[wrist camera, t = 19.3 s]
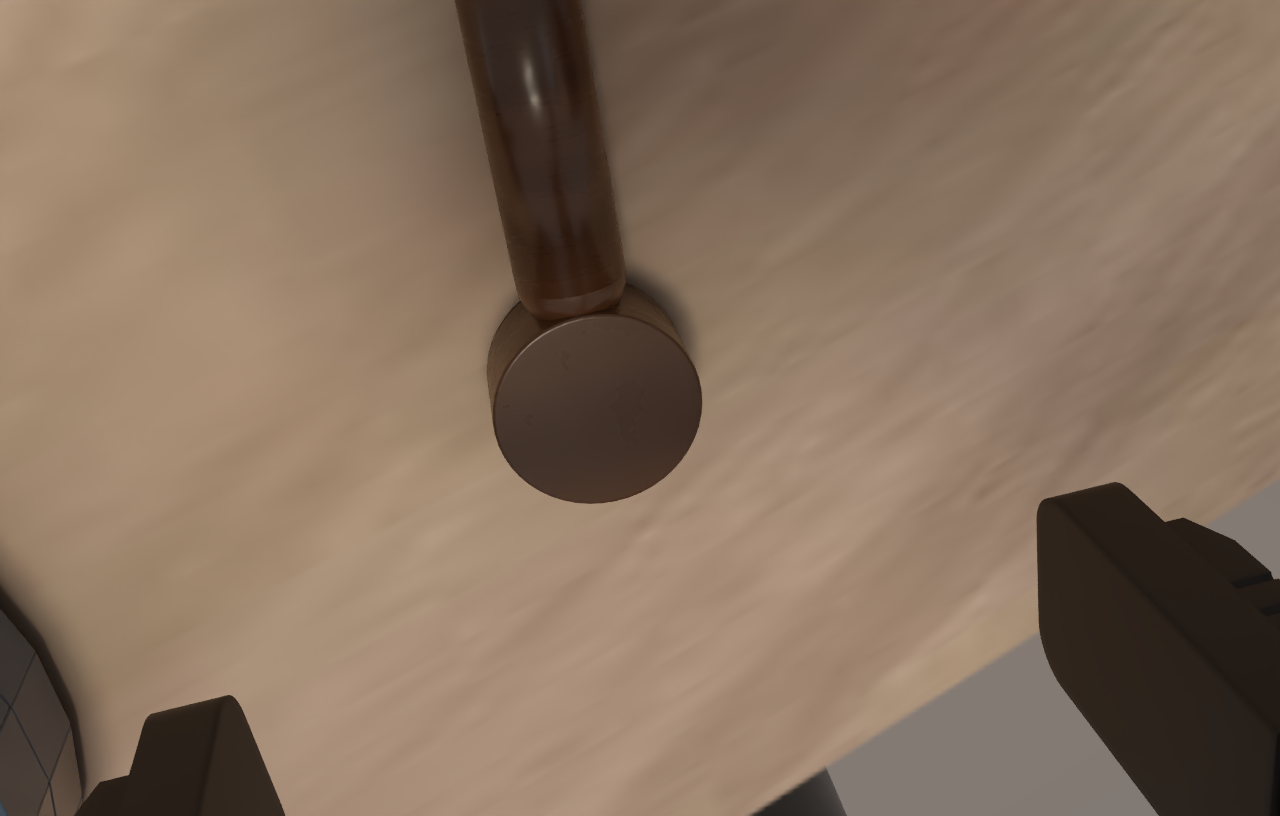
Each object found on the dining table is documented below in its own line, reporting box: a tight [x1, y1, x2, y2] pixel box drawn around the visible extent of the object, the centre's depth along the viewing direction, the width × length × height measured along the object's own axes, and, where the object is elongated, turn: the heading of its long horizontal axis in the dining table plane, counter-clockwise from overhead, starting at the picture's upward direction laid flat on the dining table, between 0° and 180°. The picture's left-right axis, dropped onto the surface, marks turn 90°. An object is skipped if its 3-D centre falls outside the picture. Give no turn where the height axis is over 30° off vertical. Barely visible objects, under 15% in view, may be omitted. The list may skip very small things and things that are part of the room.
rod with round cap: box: [455, 0, 702, 504], centre depth 28 cm, size 16×5×3 cm, turn 9°
